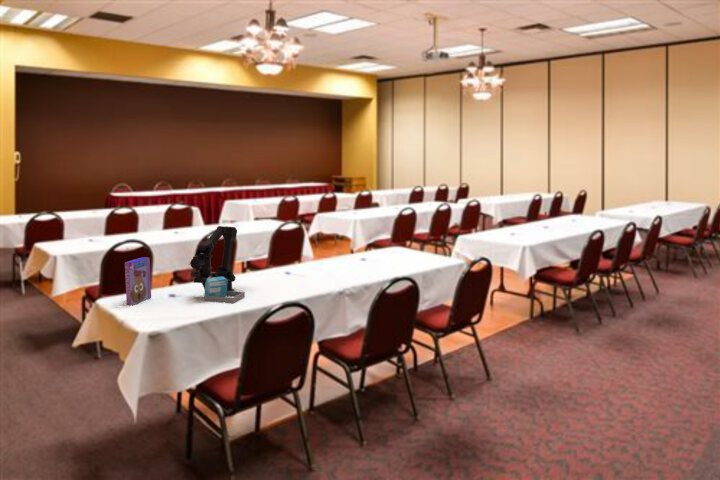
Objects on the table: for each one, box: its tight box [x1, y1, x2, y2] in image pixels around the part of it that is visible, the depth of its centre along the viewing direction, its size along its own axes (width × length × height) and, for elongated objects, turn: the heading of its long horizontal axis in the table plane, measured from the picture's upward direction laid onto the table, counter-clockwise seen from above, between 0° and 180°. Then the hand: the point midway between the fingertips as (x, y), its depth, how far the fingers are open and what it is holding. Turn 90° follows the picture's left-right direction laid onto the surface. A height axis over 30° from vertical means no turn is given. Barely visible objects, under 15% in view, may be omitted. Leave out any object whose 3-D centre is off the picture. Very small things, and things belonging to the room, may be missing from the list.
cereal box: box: [124, 256, 152, 306], centre depth 343 cm, size 17×5×24 cm, turn 168°
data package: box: [204, 276, 228, 297], centre depth 351 cm, size 12×4×12 cm, turn 130°
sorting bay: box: [204, 290, 246, 304], centre depth 351 cm, size 15×18×3 cm
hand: (206, 291), depth 354 cm, fingers closed
